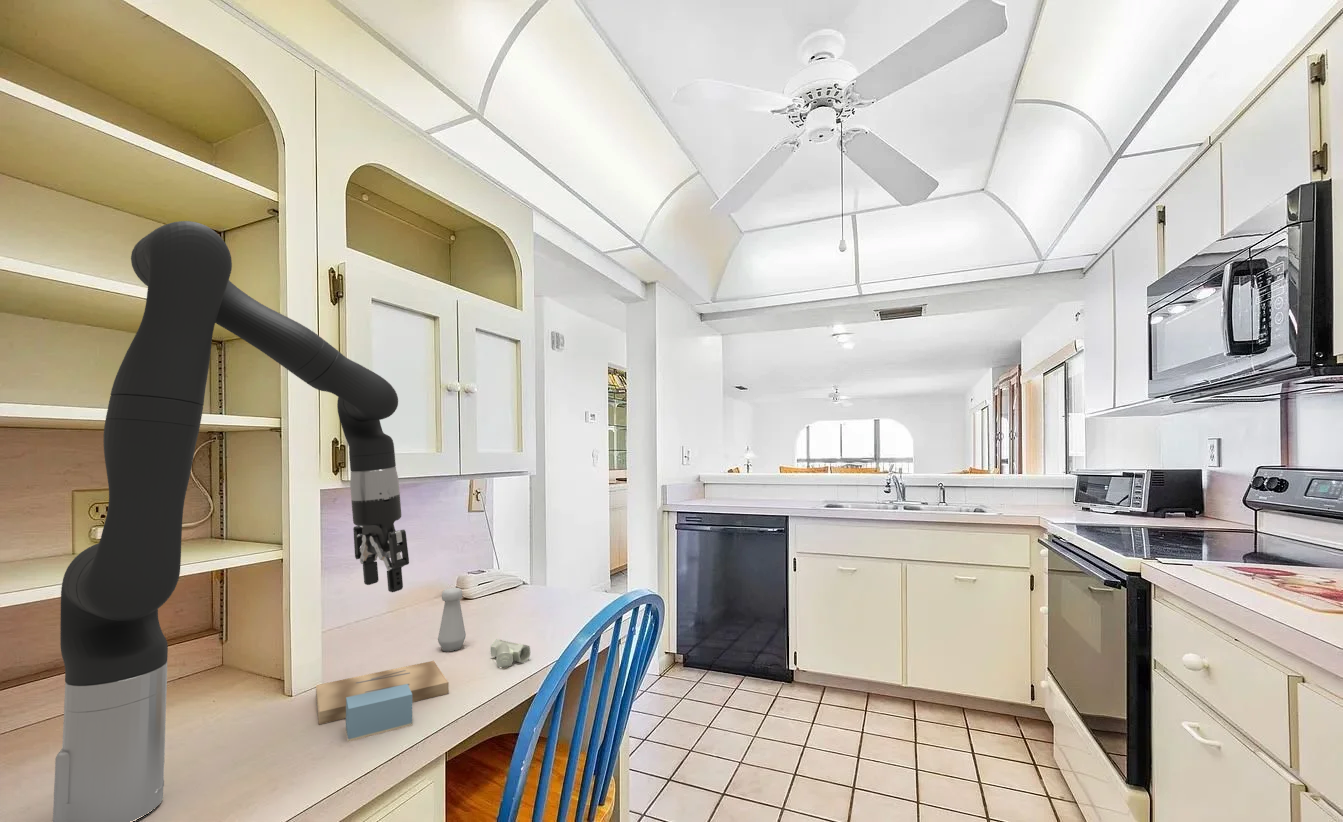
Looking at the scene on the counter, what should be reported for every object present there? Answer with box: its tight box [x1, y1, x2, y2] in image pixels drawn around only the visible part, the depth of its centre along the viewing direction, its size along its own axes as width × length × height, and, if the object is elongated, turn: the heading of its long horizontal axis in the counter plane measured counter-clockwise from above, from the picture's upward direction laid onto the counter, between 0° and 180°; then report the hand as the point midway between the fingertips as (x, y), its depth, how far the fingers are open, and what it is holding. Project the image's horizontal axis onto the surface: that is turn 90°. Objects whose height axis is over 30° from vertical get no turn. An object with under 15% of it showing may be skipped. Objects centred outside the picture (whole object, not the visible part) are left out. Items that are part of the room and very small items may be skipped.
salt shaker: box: [437, 587, 467, 652], centre depth 129 cm, size 6×6×13 cm
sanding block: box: [345, 684, 413, 743], centre depth 93 cm, size 9×5×5 cm, turn 123°
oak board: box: [315, 660, 449, 725], centre depth 104 cm, size 20×13×2 cm, turn 123°
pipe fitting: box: [490, 638, 531, 668], centre depth 120 cm, size 8×4×7 cm
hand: (383, 587), depth 101 cm, fingers open, 8 cm apart
